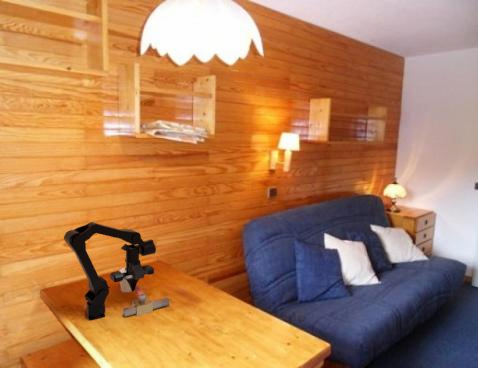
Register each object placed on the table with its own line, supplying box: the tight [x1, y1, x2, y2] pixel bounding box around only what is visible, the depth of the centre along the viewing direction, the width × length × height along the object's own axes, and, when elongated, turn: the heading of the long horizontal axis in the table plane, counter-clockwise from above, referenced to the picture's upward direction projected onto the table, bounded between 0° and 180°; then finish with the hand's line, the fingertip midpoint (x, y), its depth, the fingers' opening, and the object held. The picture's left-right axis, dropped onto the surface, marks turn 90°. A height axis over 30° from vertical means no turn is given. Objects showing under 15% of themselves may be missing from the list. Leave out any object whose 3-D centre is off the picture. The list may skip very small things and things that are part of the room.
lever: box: [133, 284, 147, 301], centre depth 165 cm, size 14×3×2 cm, turn 28°
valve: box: [122, 296, 171, 318], centre depth 163 cm, size 20×6×5 cm, turn 125°
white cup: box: [118, 267, 132, 293], centre depth 183 cm, size 8×8×10 cm
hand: (132, 291), depth 168 cm, fingers closed
